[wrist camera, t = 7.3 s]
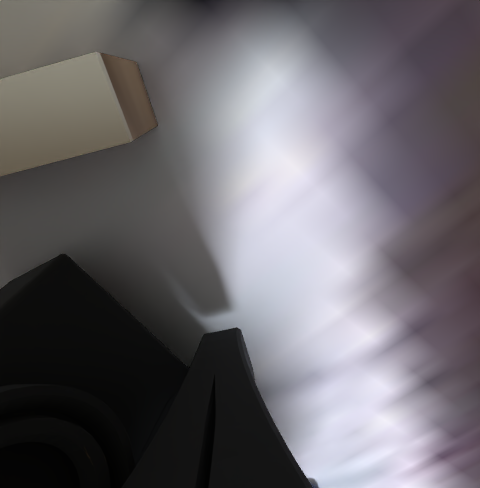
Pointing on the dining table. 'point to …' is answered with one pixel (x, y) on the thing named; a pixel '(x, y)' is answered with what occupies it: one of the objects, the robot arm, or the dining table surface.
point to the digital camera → (76, 382)
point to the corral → (71, 110)
